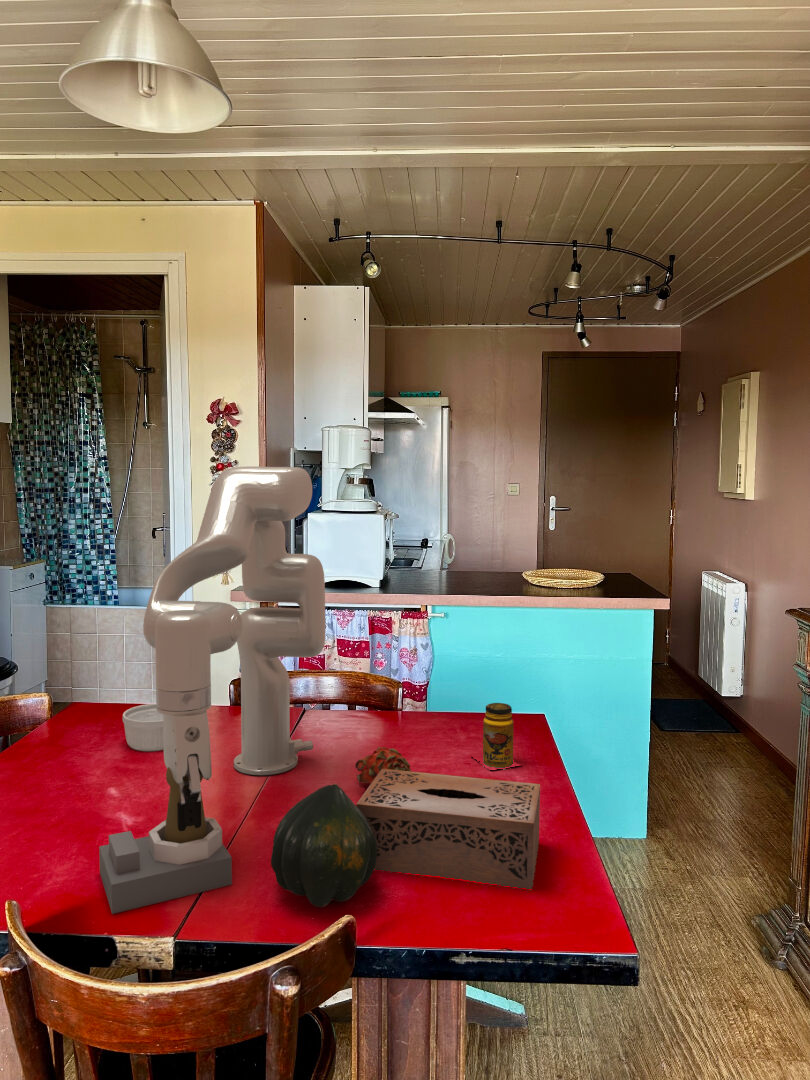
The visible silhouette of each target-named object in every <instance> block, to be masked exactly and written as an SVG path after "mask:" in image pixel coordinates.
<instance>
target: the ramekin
mask: <svg viewBox="0 0 810 1080" xmlns="http://www.w3.org/2000/svg"><path fill="white" fill-rule="evenodd" d="M163 715H164V714H162V713H159V712H157V710H156V703H149V704H148V703H146V704H141V705H138V706H137V705H136V706H133V707H130V708H129V709H126V710H125V711H124V712H123V714H122V722H123V727H124V733H125V740H126V742H127V745H128V747H130V748H131V749H132V750H134V751H135V750H136V751H140V752H158V751H164V750H163Z"/></svg>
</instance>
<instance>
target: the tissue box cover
mask: <svg viewBox="0 0 810 1080" xmlns="http://www.w3.org/2000/svg"><path fill="white" fill-rule="evenodd" d="M355 805H356V806H357V807H358V808H359V810H360V811H361V812H362V814H363V815H364V816H365V818H366V820H367V822H368V824H369V826H370V828H371V830H372V832H373V834H374V837H375V840H376V845H377V859H376V865H375V868H374V869H375V870H374V871H376V870H381V871H380V872H384V871H387V872H386V873H392V872H401V873H411V874H420V875H431V876H440V877H445V878H454V879H463V880H469V881H476V882H482V883H489V884H497V885H501V886H510V887H517V888H526V889H532V887H533V886H534V882H533V880H535V874H536V867H535V866H537V860H536V859H537V858H538V853H537V852H539V846H538V845H539V844H540V814H541V813H540V812H541V811H540V810H541V809H540V807H541V784H540V783H534V782H523V781H521V782H520V781H513V780H502V779H492V778H481V777H471V776H461V775H452V774H441V773H440V774H439V773H431V772H421V771H420V772H419V771H412V770H411V771H402V770H392V769H381V771H380V772H379V773H378V775H377V776H376V778H375V779H374V780H373V782H372V783H369V786H368V787H367V789H366V790H365V791H364V793H363V794H362V795H361V797H360V798H359V800H357V802H356V804H355ZM382 870H383V871H382ZM388 871H390V872H388ZM534 873H535V874H534ZM532 890H533V889H532Z"/></svg>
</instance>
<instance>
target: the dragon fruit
mask: <svg viewBox="0 0 810 1080" xmlns="http://www.w3.org/2000/svg"><path fill="white" fill-rule="evenodd" d="M376 749H377V750H376ZM376 749H375V750H374V751H373V752H372V754H369V755H367V756H364V757H362V758H360V759H358V760H357V761H356V762H355V765H354V766H355V769H357V771H358V772H361V773H359V774H357V773H356V779H357V783H359V784H362V783H364V784H371V783H372V782H373V780H374V779H375V778H376V776H377V775H378V773H379V772H380V771H381V769H392V770H402V771H412V770H411V765H410V762H408V760H407V758H405V757H404V756H403V755H402V753H401V752H399V751H398V750H397V749H395V748H388V747H384V746H383V747H377V748H376Z"/></svg>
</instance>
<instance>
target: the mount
mask: <svg viewBox="0 0 810 1080" xmlns="http://www.w3.org/2000/svg"><path fill="white" fill-rule="evenodd" d="M205 822H206V829H207V836H206V837H204V838H203V839H200V840H195V841H190V842H186V843H181V844H180V843H174V842H168V841H164V835H165V827H166V819H165V820H164V821H162V822H161V823H159V824H158V825H156V826H155V827H154V828H152V829H150V831H148V836H144V837H143V836H142V837H138V838H135V837H134V835H133V833H132V831H131V830H128V831H123V832H122V831H121V832H118V833H113V834H109V835H108V844H105V845H100V846H99V848H98V849H99V850H98V851H99V853H98V854H99V855H98V856H99V875H100V878H101V882H102V884H103V888H104V891H105V895H106V897H107V901H108V905H109V908H110V912H111V915H114V914H119V913H122V912H126V911H130V910H134V909H138V908H142V907H147V906H150V905H155V904H159V903H163V902H167V901H171V900H174V899H178V898H182V897H187V896H191V895H195V894H198V893H200V894H201V893H202V892H206V891H207V892H208V891H211V890H215V889H220V888H223V887H228V886H232V885H233V875H232V874H233V867H232V866H233V864H232V863H233V862H232V861H233V860H232V859H233V857H232V856H231V854H230V853H229V851H228V850H227V848H226V847H225V845H224V843H223V829H222V827H221V825H220V824H219V823H218V821H217V820H216V818H213V817H206V816H205Z"/></svg>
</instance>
